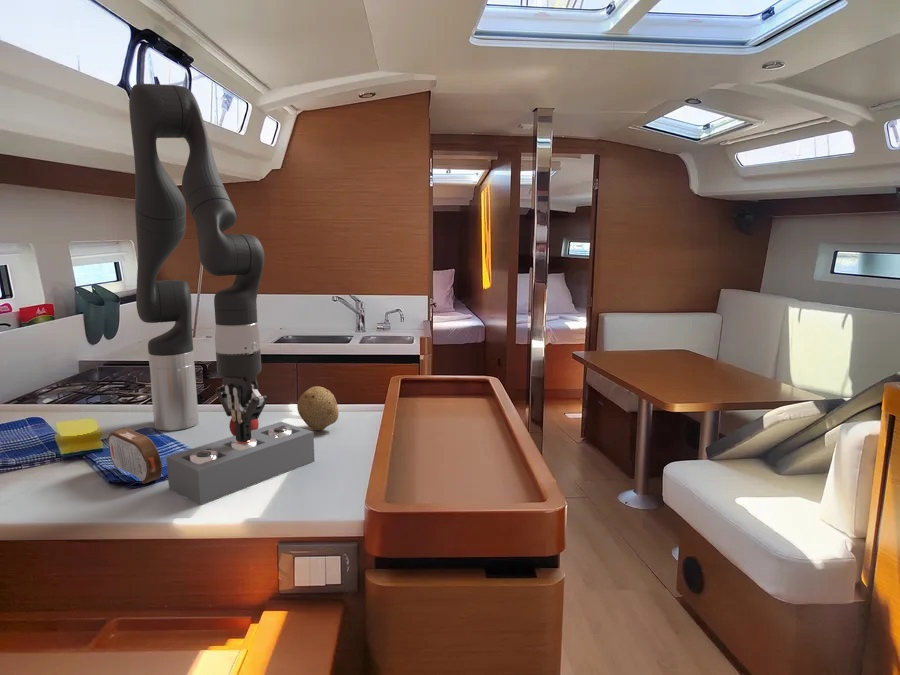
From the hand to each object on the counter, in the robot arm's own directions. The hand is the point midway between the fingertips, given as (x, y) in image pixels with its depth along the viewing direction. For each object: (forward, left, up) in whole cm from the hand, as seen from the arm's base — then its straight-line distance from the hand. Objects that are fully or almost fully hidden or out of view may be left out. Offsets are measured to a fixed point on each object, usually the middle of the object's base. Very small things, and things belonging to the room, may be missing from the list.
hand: (243, 440), depth 110 cm
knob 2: (0, +8, -4) cm, 9 cm away
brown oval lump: (-9, +25, -7) cm, 28 cm away
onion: (-15, +10, -7) cm, 19 cm away
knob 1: (0, -8, -4) cm, 9 cm away
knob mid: (0, 0, -4) cm, 4 cm away
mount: (0, 0, -7) cm, 7 cm away
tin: (-15, -13, -7) cm, 21 cm away
